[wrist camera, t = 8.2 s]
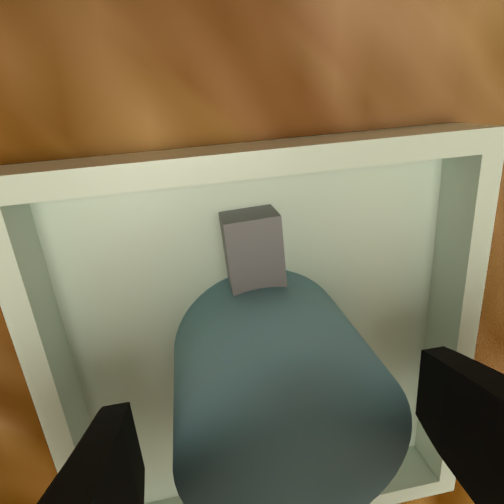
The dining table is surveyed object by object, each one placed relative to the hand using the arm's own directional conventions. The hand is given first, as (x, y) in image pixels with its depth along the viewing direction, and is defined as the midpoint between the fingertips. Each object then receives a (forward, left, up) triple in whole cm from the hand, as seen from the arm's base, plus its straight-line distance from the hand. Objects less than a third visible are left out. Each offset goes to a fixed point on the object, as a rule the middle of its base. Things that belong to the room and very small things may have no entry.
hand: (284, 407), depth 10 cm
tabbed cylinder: (0, 0, -3) cm, 3 cm away
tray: (0, 0, -3) cm, 3 cm away
